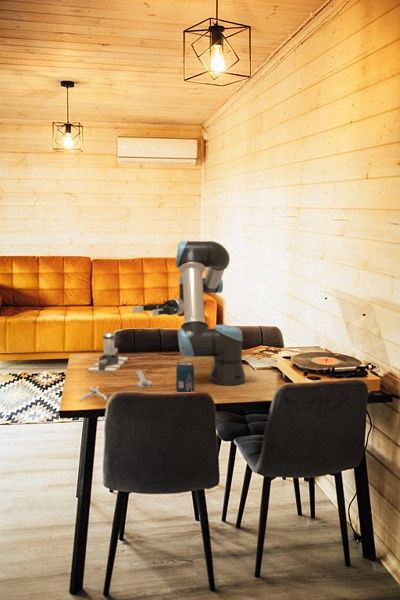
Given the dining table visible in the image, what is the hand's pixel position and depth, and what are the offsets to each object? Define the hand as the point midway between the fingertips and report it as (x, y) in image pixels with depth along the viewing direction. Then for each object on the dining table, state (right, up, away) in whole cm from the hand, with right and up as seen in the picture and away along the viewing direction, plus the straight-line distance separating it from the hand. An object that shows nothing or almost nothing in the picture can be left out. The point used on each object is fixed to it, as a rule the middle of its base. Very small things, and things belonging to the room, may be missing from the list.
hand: (142, 311), depth 273 cm
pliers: (-14, -32, -50) cm, 61 cm away
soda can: (+21, -31, -47) cm, 60 cm away
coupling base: (-15, -25, -7) cm, 30 cm away
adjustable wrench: (+3, -29, -29) cm, 41 cm away
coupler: (-15, -24, -8) cm, 29 cm away
